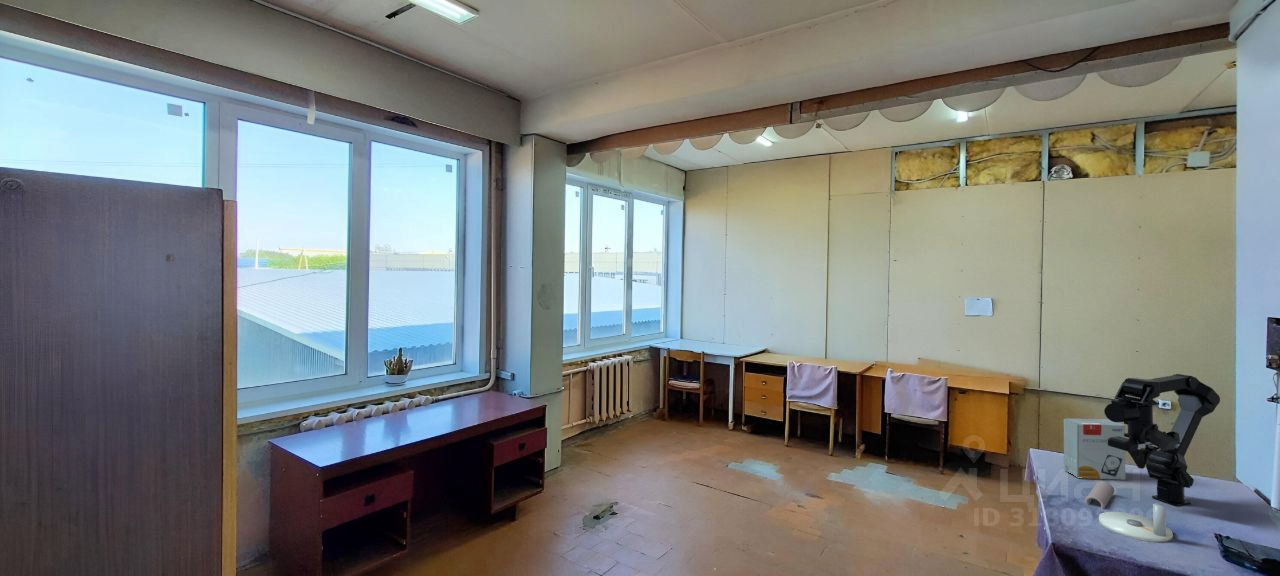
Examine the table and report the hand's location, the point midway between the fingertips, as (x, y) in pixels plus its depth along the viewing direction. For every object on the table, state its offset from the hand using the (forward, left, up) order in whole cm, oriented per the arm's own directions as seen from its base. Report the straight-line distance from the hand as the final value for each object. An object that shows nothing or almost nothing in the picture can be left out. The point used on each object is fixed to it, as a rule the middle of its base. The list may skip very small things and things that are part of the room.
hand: (1141, 468), depth 159 cm
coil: (+9, -6, -12) cm, 16 cm away
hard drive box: (-11, -22, -12) cm, 27 cm away
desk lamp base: (+20, +11, -11) cm, 25 cm away
